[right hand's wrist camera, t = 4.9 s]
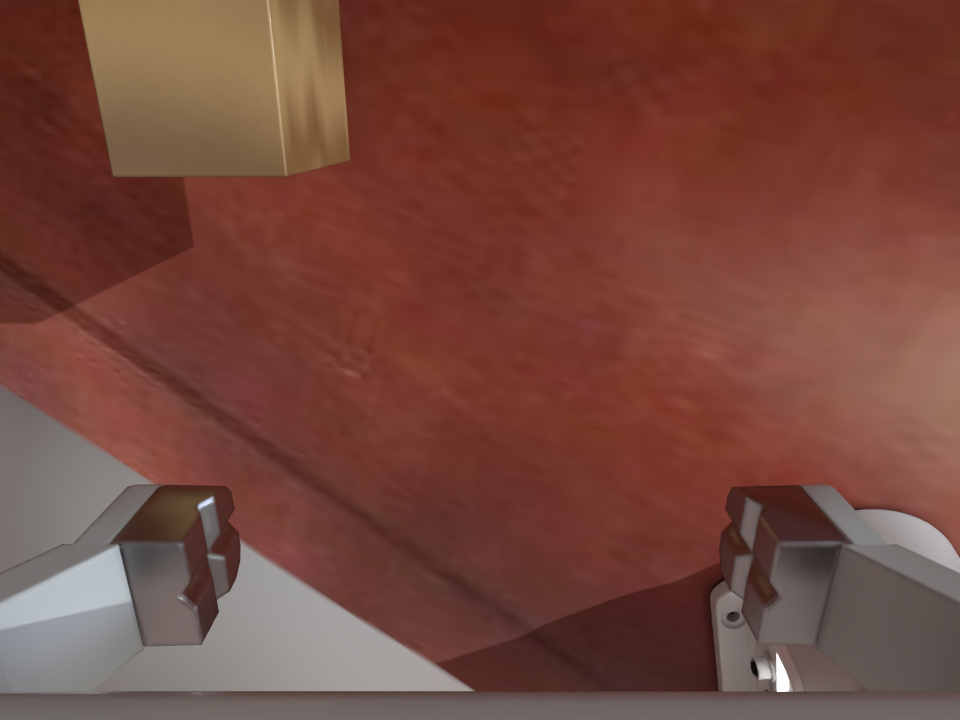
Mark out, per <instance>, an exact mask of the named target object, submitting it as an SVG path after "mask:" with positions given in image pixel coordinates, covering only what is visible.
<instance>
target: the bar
mask: <svg viewBox="0 0 960 720" xmlns="http://www.w3.org/2000/svg"><path fill="white" fill-rule="evenodd" d="M78 3H79V8H80V13H81V18H82V23H83V28H84V33H85V39H86V44H87V49H88V54H89V59H90V64H91V69H92V74H93V79H94V84H95V89H96V94H97V99H98V104H99V110H100V115H101V120H102V125H103V130H104V135H105V140H106V145H107V150H108V155H109V160H110V165H111V170H112V175H113V176H114V177H287V176H291V175H295V174H299V173H303V172H307V171H311V170H315V169H319V168H322V167H326V166H330V165H334V164H338V163H342V162H346V161H349V160H350V156H349V142H348V128H347V114H346V100H345V86H344V72H343V58H342V44H341V30H340V16H339V2H338V0H78Z"/></svg>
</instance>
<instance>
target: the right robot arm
mask: <svg viewBox="0 0 960 720" xmlns="http://www.w3.org/2000/svg"><path fill="white" fill-rule="evenodd" d="M234 510H235V508H234V503H233V498H232V493H231V491H230V490H229V489H228V488H227V487H226V486H203V485H162V484H153V485H133V486H128V487H127V488H126V489H125V490H124V491H123V492H122V493H121V494H120V495H119V496H118V497H117V498H116V499H115V500H114V501H113V502H112V503H111V505H110V506H109V507H108V508H107V509H106V510H105V511H104V512H103V513H102V514H101V515H100V516H99V517H98V518H97V519H96V520H95V521H94V522H93V523H92V524H91V525H90V526H89V528H88V529H87V530H86V531H85V532H84V533H83V534H82V535H81V536H80V537H79V538H78V539H77V540H76V541H75V542H74V543H73V544H62V545H60V546H58V547H55V548H53V549H51V550H49V551H47V552H45V553H42V554H40V555H38V556H36V557H34V558H31V559H29V560H27V561H25V562H23V563H21V564H18V565H16V566H14V567H12V568H10V569H8V570H5V571H3V572H1V573H0V720H960V558H959V556H958V555H957V553H956V551H955V550H954V548H953V547H952V545H951V544H950V542H949V541H948V540H947V539H946V537H945V536H944V535H943V534H942V533H941V532H939V531H938V530H937V529H936V528H934V527H933V526H932V525H930V524H928V523H927V522H925V521H923V520H921V519H919V518H916V517H914V516H911V515H908V514H905V513H901V512H896V511H890V510H881V509H862V510H854V509H853V508H852V507H851V505H850V504H849V503H848V502H847V501H846V500H845V499H844V498H843V497H842V496H841V495H840V494H839V493H838V492H837V491H836V490H835V489H834V488H833V487H831V486H829V485H826V484H814V485H791V486H751V487H732V488H731V490H730V492H729V494H728V497H727V502H726V508H725V510H726V511H727V513H728V514H729V516H730V518H731V519H732V522H731V523H730V524H729V525H728V526H727V527H726V528H725V529H724V530H723V531H722V532H721V540H720V548H719V552H720V564H721V569H722V573H723V576H724V581H723V582H721V583H719V584H718V585H717V586H716V587H715V588H714V589H713V590H712V592H711V595H710V605H711V615H712V626H713V637H714V647H715V658H716V668H717V679H718V690H719V691H92V690H94V689H95V688H96V687H97V686H99V685H100V684H101V683H102V682H104V681H105V680H106V679H107V678H109V677H110V676H111V675H112V674H114V673H115V672H116V671H117V670H119V669H120V668H121V667H122V666H124V665H125V664H126V663H127V662H129V661H130V660H131V659H132V658H134V657H135V656H136V655H137V654H139V653H140V652H141V651H142V650H143V649H144V647H143V646H176V645H201V644H202V643H203V641H204V639H205V637H206V635H207V633H208V631H209V629H210V628H211V626H212V624H213V622H214V620H215V618H216V616H217V614H218V613H219V610H218V605H217V599H219V598H220V597H222V596H223V595H225V594H226V593H228V592H229V591H230V590H231V588H232V586H233V583H234V581H235V579H236V577H237V572H238V568H239V563H240V539H239V533H238V531H237V530H236V529H235V528H234V527H233V526H232V525H231V524H230V523H229V522H228V519H229V518H230V516H231V514H232V513H233V511H234ZM730 612H734V613H732V614H729V613H730Z"/></svg>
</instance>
